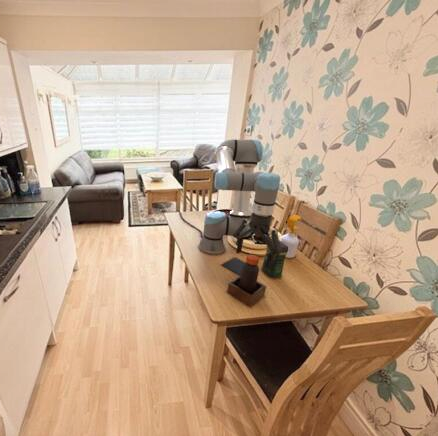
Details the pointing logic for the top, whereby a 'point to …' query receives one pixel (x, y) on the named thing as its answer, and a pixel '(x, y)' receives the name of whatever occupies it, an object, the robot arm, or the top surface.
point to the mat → (234, 265)
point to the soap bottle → (291, 237)
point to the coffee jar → (275, 262)
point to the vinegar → (249, 274)
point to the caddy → (244, 296)
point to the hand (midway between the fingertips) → (252, 259)
